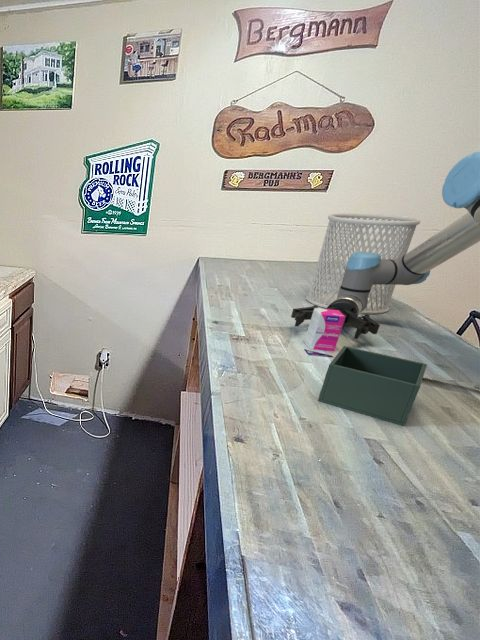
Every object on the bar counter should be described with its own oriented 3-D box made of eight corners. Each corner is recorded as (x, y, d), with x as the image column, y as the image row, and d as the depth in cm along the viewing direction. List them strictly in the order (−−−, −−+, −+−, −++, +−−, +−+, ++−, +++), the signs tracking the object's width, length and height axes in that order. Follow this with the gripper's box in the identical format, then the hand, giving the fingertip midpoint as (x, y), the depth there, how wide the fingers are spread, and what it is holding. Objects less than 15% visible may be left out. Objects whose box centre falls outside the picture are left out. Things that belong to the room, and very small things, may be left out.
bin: (412, 400, 98) (427, 364, 94) (403, 426, 88) (420, 386, 85) (332, 379, 107) (343, 345, 104) (317, 400, 98) (329, 364, 94)
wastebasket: (318, 291, 180) (341, 211, 168) (397, 305, 163) (428, 217, 151) (295, 302, 165) (318, 216, 153) (378, 319, 148) (411, 223, 136)
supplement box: (307, 355, 121) (319, 313, 116) (302, 347, 126) (313, 307, 121) (333, 358, 119) (346, 316, 114) (326, 349, 124) (338, 309, 119)
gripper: (392, 332, 129) (379, 353, 115) (292, 313, 145) (271, 329, 131) (401, 307, 126) (390, 325, 112) (299, 290, 142) (278, 304, 128)
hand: (326, 327), depth 122 cm, fingers open, 13 cm apart
